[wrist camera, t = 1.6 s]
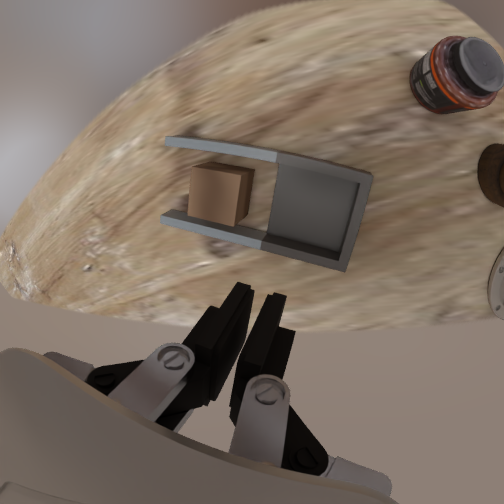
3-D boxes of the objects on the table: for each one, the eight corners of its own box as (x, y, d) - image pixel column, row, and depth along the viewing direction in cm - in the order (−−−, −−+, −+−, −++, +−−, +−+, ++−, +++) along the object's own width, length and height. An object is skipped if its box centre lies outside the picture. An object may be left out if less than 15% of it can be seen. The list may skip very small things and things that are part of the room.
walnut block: (254, 169, 28) (241, 175, 25) (247, 214, 31) (233, 226, 27) (211, 161, 29) (191, 166, 26) (206, 204, 32) (187, 215, 28)
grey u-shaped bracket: (370, 172, 25) (373, 175, 23) (344, 261, 29) (345, 272, 27) (177, 135, 29) (165, 136, 27) (171, 217, 34) (160, 223, 31)
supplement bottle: (468, 89, 18) (527, 75, 8) (441, 126, 21) (497, 126, 11) (425, 48, 18) (467, 10, 8) (397, 85, 21) (432, 56, 11)
